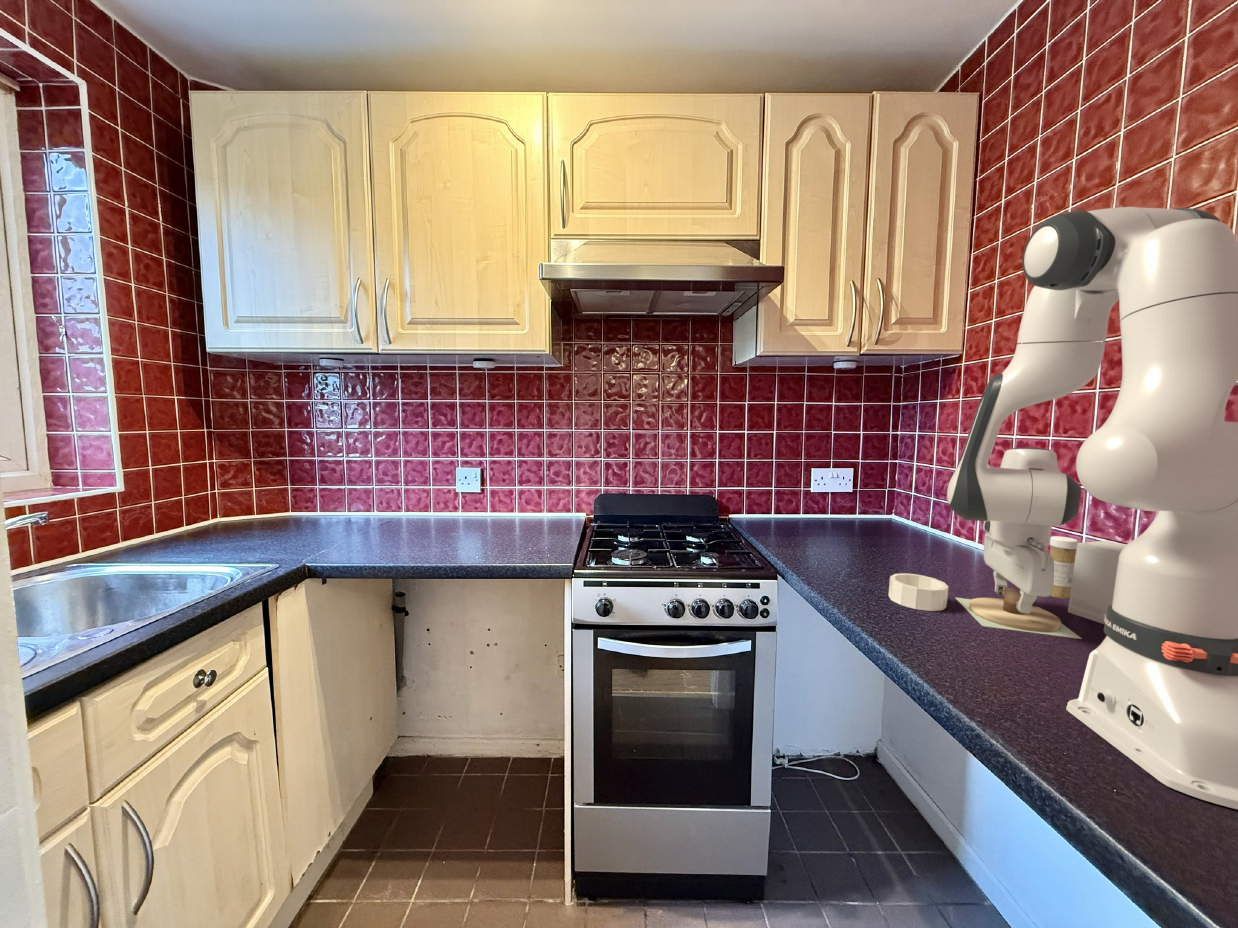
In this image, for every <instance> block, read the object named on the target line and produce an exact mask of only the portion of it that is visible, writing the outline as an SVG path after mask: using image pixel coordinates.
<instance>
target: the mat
mask: <svg viewBox="0 0 1238 928" xmlns="http://www.w3.org/2000/svg"><path fill="white" fill-rule="evenodd" d="M972 599H973V598H972ZM972 599H971V598H963V597H955V600H957V601H958V603H960V605H961V606H962V607H963V608H964V609H966V611H967V612H968V613H969V614H970V615H971V617H972V618H974V619H975V620H976V621H977V623H979V624H980V625H981V626H982V627H985V628H993V629H994V628H995V629H1001V630H1010V631H1016V632H1023V633H1025V632H1026V633H1031V634H1033V633H1034V634H1040V635H1047V636H1055V637H1065V638H1070V639H1071V638H1072V639H1078V640H1082V639H1083V638H1082V637H1081V636H1079V635H1078V634H1076V633H1075V632H1074V631H1073V630H1071V629H1070V628H1069V627H1067V626H1066V625H1065V624H1063V623H1062V622H1061V626H1060V629H1059V630H1057V631H1053V632H1035V631H1027V630H1021V629H1016V628H1011V627H1007V626H1003V625H1000V624H996V623H993V622H991V621H988V620H985V619H983V618H981V617H979V616H977V615H975V614H974V613H972V612H971V611H970V609H969V602H970V600H972ZM1037 607H1038V606H1037ZM1038 608H1040V609H1042V608H1041V607H1038Z"/></svg>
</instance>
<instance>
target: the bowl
mask: <svg viewBox="0 0 1238 928" xmlns="http://www.w3.org/2000/svg"><path fill="white" fill-rule="evenodd" d="M888 585H889V586H888V597H889V599H890V601H891V602H894V603H896V604H898V605H900V606H903V607H906V608H910V609H914V610H919V611H920V610H921V611H929V612H937V611H938V612H939V611H943V610H945V609H946V608H947V603H948V596H949V595H948V593H949V586H948V584H946V583H945V582H944V581H942V580H940V579H938V578H934V577H930V576H927V575H922V574H915V573H907V572H906V573H905V572H903V573H894V574H893V575H890V576H889V584H888Z"/></svg>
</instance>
